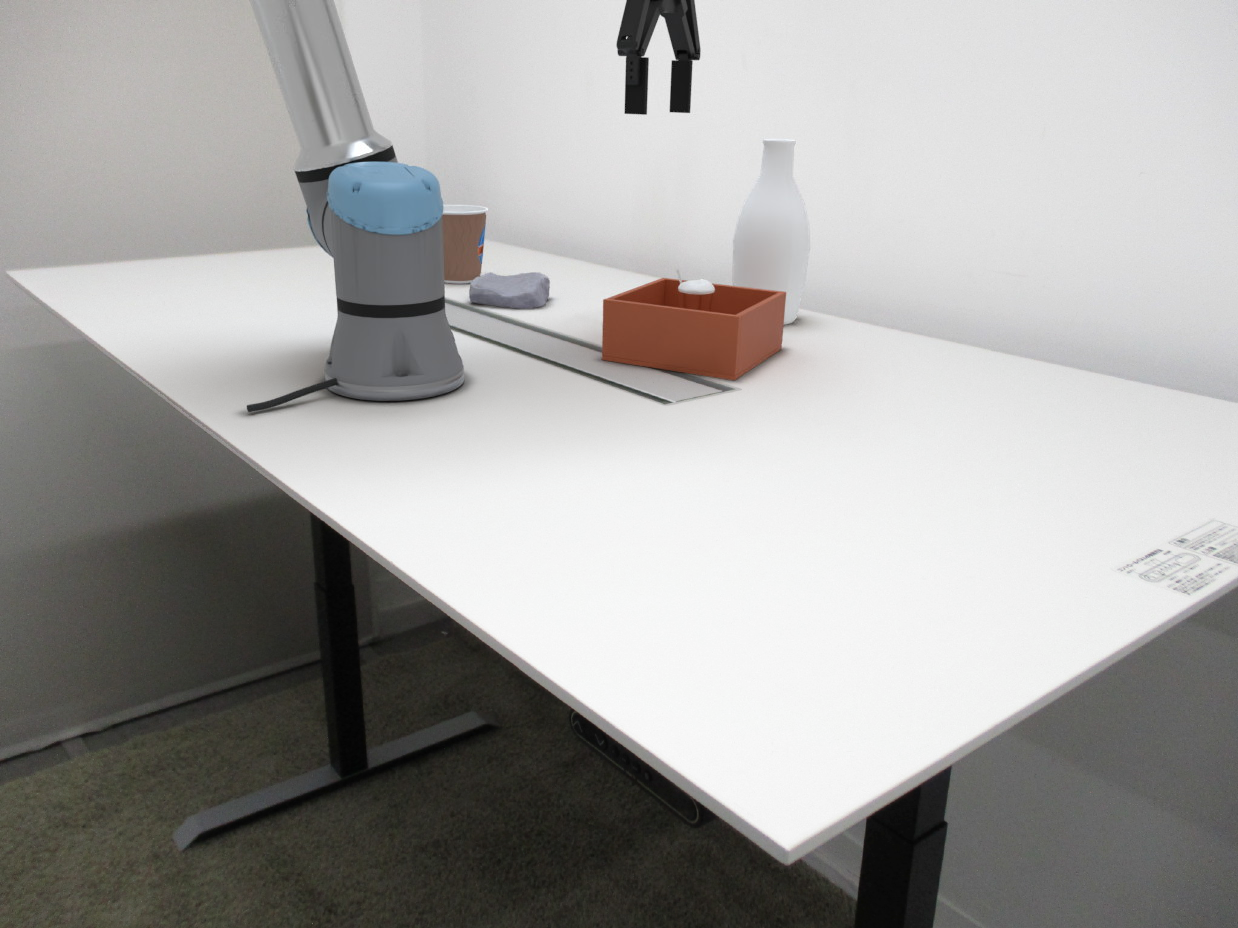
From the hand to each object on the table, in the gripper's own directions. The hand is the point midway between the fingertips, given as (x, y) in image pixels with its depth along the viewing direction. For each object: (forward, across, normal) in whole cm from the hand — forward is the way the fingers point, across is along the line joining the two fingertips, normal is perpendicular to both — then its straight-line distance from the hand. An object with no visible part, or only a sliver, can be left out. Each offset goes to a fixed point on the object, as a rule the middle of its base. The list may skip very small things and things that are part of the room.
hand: (658, 114), depth 130 cm
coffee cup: (+29, +17, +44) cm, 55 cm away
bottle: (+29, +17, -11) cm, 35 cm away
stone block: (+29, +6, +27) cm, 40 cm away
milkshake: (+28, -9, -10) cm, 31 cm away
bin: (+29, -8, -10) cm, 31 cm away
